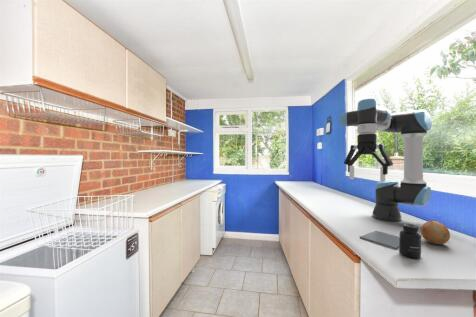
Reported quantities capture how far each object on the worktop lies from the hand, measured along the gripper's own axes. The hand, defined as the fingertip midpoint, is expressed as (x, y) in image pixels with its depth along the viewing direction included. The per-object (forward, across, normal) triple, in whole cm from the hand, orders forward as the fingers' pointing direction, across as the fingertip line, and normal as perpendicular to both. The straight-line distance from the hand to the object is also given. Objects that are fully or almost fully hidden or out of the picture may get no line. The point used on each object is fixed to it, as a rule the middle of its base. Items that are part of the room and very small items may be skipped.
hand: (366, 180), depth 100 cm
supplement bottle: (+28, +17, 0) cm, 33 cm away
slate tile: (+28, +4, +9) cm, 30 cm away
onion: (+28, +18, +23) cm, 41 cm away
